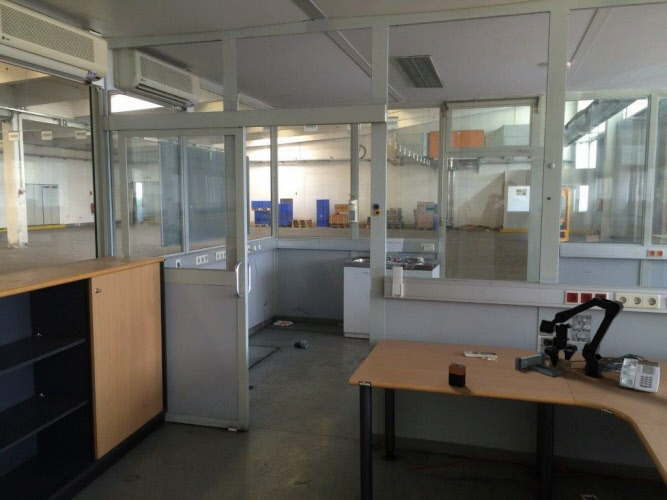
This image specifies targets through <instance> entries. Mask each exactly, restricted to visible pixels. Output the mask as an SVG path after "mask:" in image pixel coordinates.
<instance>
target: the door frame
mask: <svg viewBox="0 0 667 500" xmlns="http://www.w3.org/2000/svg"><path fill="white" fill-rule="evenodd" d="M540 354H541V355H542V365H545V366H546V361H547V358H546V353H543V352H542V353H540ZM521 358H522V357H519V356H516V357H515V360H514V361H515V362H514V364H515V366H514V370H517V371H520V370H522V369H521Z"/></svg>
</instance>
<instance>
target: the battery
mask: <svg viewBox="0 0 667 500" xmlns="http://www.w3.org/2000/svg"><path fill="white" fill-rule="evenodd" d="M466 371H467V366H466V365H463V364H460V363H459V364H458V363H457V362H451V363H450V364H449V365H448V380H447V381H448V385H451V386H454V387H458V388H463V387H464V386H466V379H467V377H466V376H467V372H466Z"/></svg>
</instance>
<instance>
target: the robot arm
mask: <svg viewBox="0 0 667 500" xmlns="http://www.w3.org/2000/svg"><path fill="white" fill-rule="evenodd" d="M593 307H597V308H601V309H602V310H604V317H603V319H602V321H601V322H600V325H599V326H598V328H597V330H596V332H595V334H594V336H593V337H592V339H591V341H587V342H585V343H584V345H583V348H582V349H581V355H582V358H583V359H584V362H585V365H584V372H583V375H586V376H589V377H592V378H594V379H597V378H600V377H603V376H604V374H602V371H603V364H602V362H603V360H604V357H602V355H601V354H600V353H599V352H600V348H601V343H602V342H603V340H604V338H605V336H606V335H607V333H608V331H609V329H610V328H611V325H612V324H613V322H614V320H615V319H616V318H617V317H618V316H619V315H620V313H621V312H623V310H624V307H625V306H624V304H623V302H622V301H621V300H612V299H607V298H602V297H599V296H595V297H592V298H591V299H590V300H587V301H584V302H583V303H580V304H579V305H576V306H574V307H572V308H568V309H564V310H561V311H559V312H556V313H555V314H554V318H553V319H552V320H547V319H542V320H541V322H540V324H539V329H538V330H540V332H542V333H548V334H553V333H554V334H555V335H554V336H555V337H553V340H549V339H544V341H543V344H544V345H546V348H545V349H544V353H546V354H547V355H549V356H550V358H549V360H550V359H551V362H552V365H553V367H556V364H557V361H558V358H560V355H559V354H560V352H563V355H564V359H565V360H569V361H571V359H572V357H573V356H574V355H575V353H576V352H578V346H577V345H576V344H573V343H570V342H569V341H570V337H568V336H569V335H568V334H569V330H570V329H572V328H573V325H571V324H570V323H569V321H570V320H572V318H574V317H575V316H577V315H579V314H580V313H583V312H585V311H587V310H589V309H592V308H593ZM566 322H568V323H566ZM568 342H569V343H568ZM548 346H552V347H548ZM553 347H555V348H553ZM553 367H552V368H553Z"/></svg>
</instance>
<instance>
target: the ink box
mask: <svg viewBox="0 0 667 500" xmlns="http://www.w3.org/2000/svg"><path fill="white" fill-rule="evenodd" d="M554 334H555V332H554V333H553V334H548V333H542V332H540V329H538V334H537V351H536V352H537V354H536V355H539V354H540V353H542V352H543V353H544V349H545V348H546V345H544V344H543V341H544V339H549V340H553V337H555V335H554ZM548 347H552V346H548ZM553 348H555V347H553ZM546 359H550V356H549V355H547V354H546Z"/></svg>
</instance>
